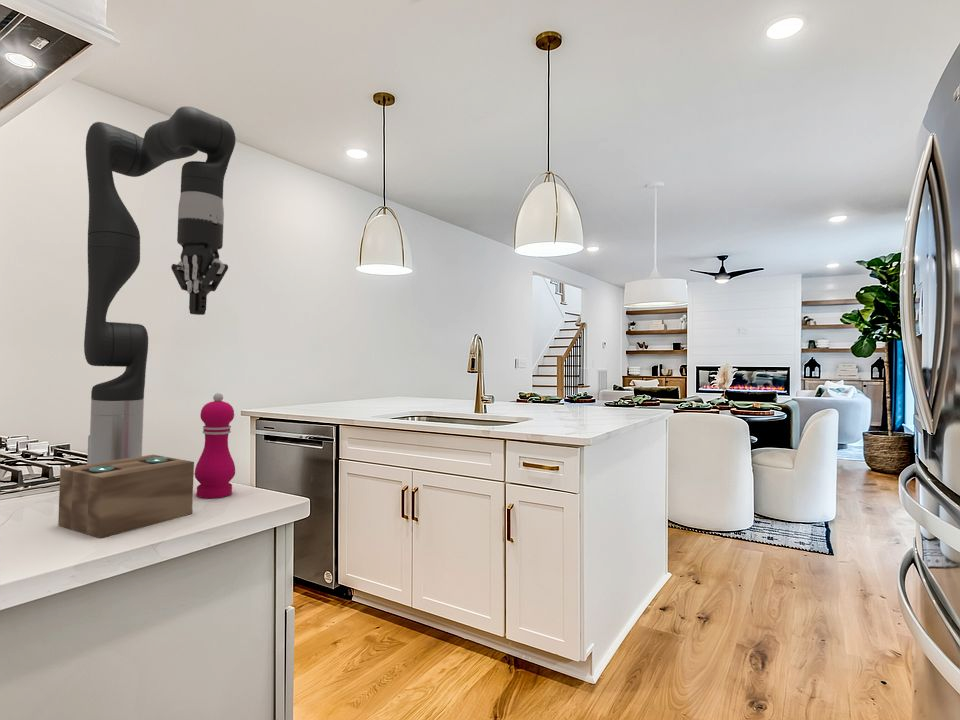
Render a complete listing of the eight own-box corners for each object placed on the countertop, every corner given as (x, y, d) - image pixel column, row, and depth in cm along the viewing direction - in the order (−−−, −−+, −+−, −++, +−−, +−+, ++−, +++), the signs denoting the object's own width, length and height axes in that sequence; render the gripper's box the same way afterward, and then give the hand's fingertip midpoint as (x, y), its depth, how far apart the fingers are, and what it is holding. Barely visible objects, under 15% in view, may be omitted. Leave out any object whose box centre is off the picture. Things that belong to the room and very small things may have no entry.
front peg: (82, 519, 85) (84, 468, 85) (104, 513, 88) (106, 464, 88) (95, 522, 83) (97, 470, 83) (116, 517, 86) (118, 467, 86)
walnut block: (58, 525, 85) (60, 468, 85) (151, 503, 99) (152, 454, 99) (100, 538, 80) (102, 477, 80) (192, 513, 94) (194, 461, 94)
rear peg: (140, 505, 93) (141, 459, 93) (157, 501, 96) (159, 456, 96) (152, 508, 91) (153, 461, 91) (169, 504, 94) (171, 458, 94)
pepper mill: (204, 501, 102) (208, 395, 102) (186, 494, 106) (190, 392, 106) (241, 494, 107) (245, 394, 107) (223, 488, 112) (226, 391, 112)
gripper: (158, 218, 100) (154, 312, 100) (207, 213, 94) (204, 312, 94) (195, 228, 107) (191, 316, 107) (243, 223, 101) (239, 316, 101)
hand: (197, 314), depth 101 cm, fingers closed
